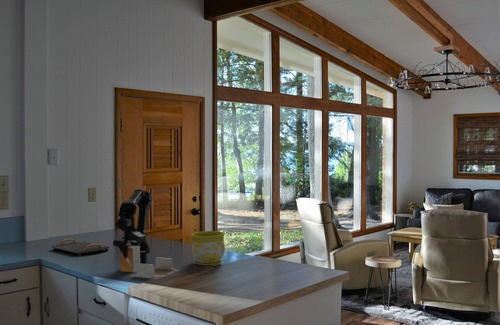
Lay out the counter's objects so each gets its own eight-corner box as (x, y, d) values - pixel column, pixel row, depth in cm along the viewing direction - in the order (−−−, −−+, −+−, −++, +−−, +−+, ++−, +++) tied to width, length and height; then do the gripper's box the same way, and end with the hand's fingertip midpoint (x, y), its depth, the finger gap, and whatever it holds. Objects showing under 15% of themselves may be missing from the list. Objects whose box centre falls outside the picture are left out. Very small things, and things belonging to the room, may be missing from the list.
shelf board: (153, 268, 275) (153, 267, 275) (180, 271, 267) (180, 270, 267) (128, 277, 257) (128, 275, 257) (156, 280, 249) (156, 279, 249)
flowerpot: (188, 262, 288) (187, 232, 287) (219, 259, 294) (218, 230, 294) (196, 269, 271) (195, 237, 271) (229, 265, 277) (229, 234, 277)
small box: (120, 272, 268) (119, 247, 267) (127, 269, 273) (127, 244, 273) (133, 273, 264) (132, 247, 264) (140, 271, 270) (140, 245, 270)
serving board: (113, 251, 326) (113, 241, 326) (79, 258, 309) (78, 247, 309) (81, 245, 353) (80, 236, 352) (47, 250, 336) (47, 241, 335)
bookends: (159, 267, 273) (158, 256, 273) (175, 269, 268) (174, 257, 268) (134, 276, 255) (133, 264, 255) (150, 278, 251) (150, 265, 251)
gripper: (129, 230, 256) (130, 262, 257) (153, 224, 273) (154, 254, 273) (111, 229, 261) (112, 260, 262) (136, 223, 278) (137, 253, 278)
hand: (130, 257), depth 269 cm, fingers closed on small box, 6 cm apart
